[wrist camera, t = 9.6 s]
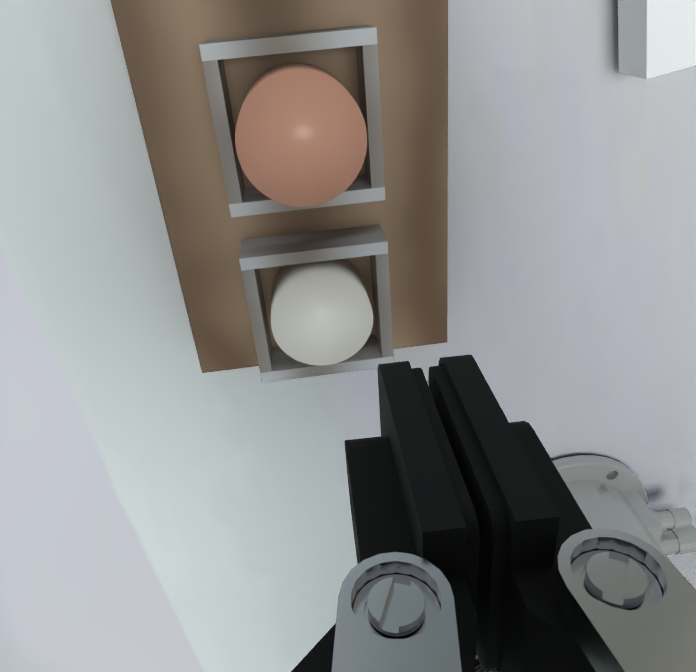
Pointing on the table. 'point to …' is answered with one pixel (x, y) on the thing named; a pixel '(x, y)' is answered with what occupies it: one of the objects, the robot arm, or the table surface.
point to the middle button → (300, 135)
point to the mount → (283, 220)
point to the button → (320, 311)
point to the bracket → (656, 36)
